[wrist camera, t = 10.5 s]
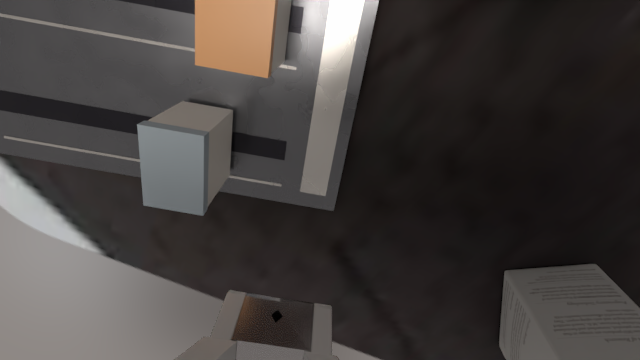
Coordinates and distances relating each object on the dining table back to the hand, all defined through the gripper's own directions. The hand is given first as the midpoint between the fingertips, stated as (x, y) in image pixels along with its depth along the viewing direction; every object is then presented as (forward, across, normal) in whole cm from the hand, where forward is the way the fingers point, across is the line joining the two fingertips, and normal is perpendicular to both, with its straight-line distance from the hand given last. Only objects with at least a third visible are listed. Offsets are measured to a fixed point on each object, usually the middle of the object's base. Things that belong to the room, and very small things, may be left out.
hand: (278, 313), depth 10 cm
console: (+13, +9, -4) cm, 16 cm away
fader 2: (+11, +3, -7) cm, 14 cm away
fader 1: (+11, +6, 0) cm, 13 cm away
